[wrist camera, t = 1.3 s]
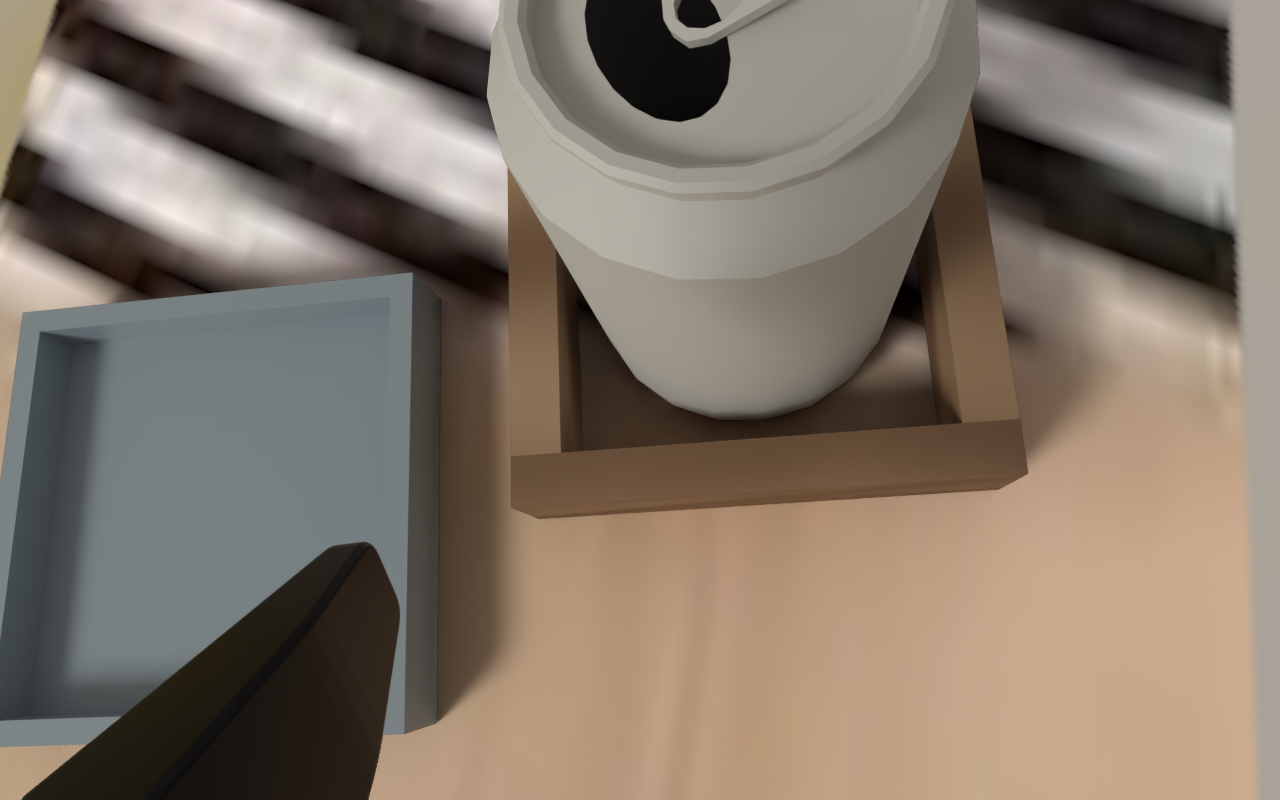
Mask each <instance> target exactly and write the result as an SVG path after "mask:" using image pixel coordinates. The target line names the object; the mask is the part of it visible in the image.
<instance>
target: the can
mask: <svg viewBox="0 0 1280 800" xmlns="http://www.w3.org/2000/svg"><path fill="white" fill-rule="evenodd" d="M979 74H980V62H979V45H978V27H977V9H976V1H975V0H500V10H499V19H498V21H497V23H496V25H495V28H494V30H493V36H492V47H491V57H490V68H489V79H488V90H487V99H488V102H489V106H490V110H491V114H492V118H493V121H494V125H495V129H496V133H497V137H498V140H499V144H500V148H501V152H502V155H503V159H504V161H505V163H506V165H507V166H508V168H509V170H510V172H511V173H512V175H513V177H514V178H515V180H516V182H517V183H518V185H519V187H520V188H521V190H522V192H523V194H524V195H525V197H526V199H527V200H528V202H529V204H530V205H531V207H532V209H533V211H534V212H535V214H536V216H537V217H538V219H539V221H540V222H541V224H542V226H543V227H544V229H545V231H546V233H547V234H548V236H549V238H550V239H551V241H552V243H553V244H554V246H555V248H556V250H557V251H558V253H559V255H560V256H561V258H562V260H563V261H564V263H565V265H566V266H567V268H568V270H569V272H570V273H571V275H572V277H573V278H574V280H575V282H576V283H577V285H578V287H579V289H580V290H581V292H582V294H583V295H584V297H585V299H586V300H587V302H588V304H589V305H590V307H591V309H592V311H593V312H594V314H595V316H596V317H597V319H598V321H599V322H600V324H601V326H602V328H603V329H604V331H605V333H606V334H607V336H608V338H609V339H610V341H611V343H612V344H613V346H614V347H615V349H616V350H617V351H618V353H619V354H620V356H621V357H622V359H623V360H624V361H625V363H626V364H627V366H628V367H629V369H630V370H631V371H632V373H633V374H634V376H635V377H636V378H637V379H638V380H639V381H641V382H642V383H643V384H645V385H646V386H647V387H649V388H650V389H652V390H653V391H654V392H656V393H657V394H658V395H660V396H661V397H662V398H664V399H665V400H666V401H668V402H669V403H671V404H672V405H674V406H677V407H680V408H683V409H686V410H689V411H692V412H695V413H698V414H701V415H705V416H708V417H711V418H714V419H717V420H767V419H770V418H773V417H776V416H780V415H783V414H786V413H790V412H793V411H796V410H799V409H803V408H806V407H809V406H812V405H813V404H815V403H816V402H817V401H819V400H820V399H822V398H823V397H825V396H826V395H828V394H829V393H831V392H832V391H833V390H835V389H836V388H838V387H839V386H841V385H842V384H844V383H845V382H846V381H848V380H849V379H851V377H852V376H853V375H854V373H855V372H856V371H857V369H858V368H859V367H860V365H861V364H862V363H863V361H864V360H865V359H866V357H867V356H868V355H869V354H870V352H871V351H872V350H873V348H874V347H875V346H876V344H877V343H878V342H879V339H880V337H881V334H882V332H883V329H884V326H885V324H886V321H887V319H888V316H889V314H890V311H891V309H892V306H893V304H894V301H895V299H896V296H897V294H898V291H899V289H900V286H901V284H902V281H903V279H904V276H905V274H906V271H907V269H908V266H909V264H910V261H911V258H912V256H913V253H914V251H915V248H916V246H917V243H918V241H919V238H920V236H921V233H922V231H923V228H924V226H925V223H926V221H927V218H928V216H929V213H930V211H931V208H932V206H933V203H934V201H935V198H936V196H937V193H938V190H939V188H940V185H941V183H942V180H943V178H944V175H945V173H946V170H947V168H948V165H949V163H950V160H951V158H952V155H953V153H954V150H955V148H956V145H957V142H958V139H959V136H960V133H961V130H962V127H963V124H964V121H965V118H966V115H967V111H968V108H969V105H970V102H971V99H972V96H973V93H974V90H975V87H976V84H977V80H978V77H979Z"/></svg>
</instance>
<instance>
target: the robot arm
mask: <svg viewBox="0 0 1280 800" xmlns="http://www.w3.org/2000/svg"><path fill="white" fill-rule="evenodd" d="M399 625H400V606H399V602H398V598H397V595H396V593H395V591H394V588H393V586H392V584H391V582H390V579H389V577H388V575H387V572H386V570H385V568H384V565H383V563H382V561H381V558H380V556H379V554H378V552H377V550H376V549H375V547H374V546H373V545H372V544H370V543H368V542H356V543H348V544H340V545H334V546H331V547H329V548H328V549H326V550H325V551H324V552H322V553H321V554H320V555H319V556H318V557H316V558H315V559H314V560H313V561H311V562H310V563H309V564H308V565H307V566H305V567H304V568H303V569H302V570H300V571H299V572H298V573H297V574H295V575H294V576H293V577H292V578H291V579H289V580H288V581H287V582H286V583H284V584H283V585H282V586H281V587H280V588H278V589H277V590H276V591H275V592H273V593H272V594H271V595H270V596H269V597H267V598H266V599H265V600H264V601H262V602H261V603H260V604H259V605H257V606H256V607H255V608H254V609H253V610H251V611H250V612H249V613H248V614H246V615H245V616H244V617H243V618H242V619H240V620H239V621H238V622H237V623H235V624H234V625H233V626H232V627H231V628H229V629H228V630H227V631H226V632H224V633H223V634H222V635H221V636H219V637H218V638H217V639H216V640H215V641H213V642H212V643H211V644H210V645H208V646H207V647H206V648H205V649H204V650H202V651H201V652H200V653H199V654H197V655H196V656H195V657H194V658H193V659H191V660H190V661H189V662H188V663H186V664H185V665H184V666H183V667H181V668H180V669H179V670H178V671H177V672H175V673H174V674H173V675H172V676H170V677H169V678H168V679H167V680H166V681H164V682H163V683H162V684H161V685H159V686H158V687H157V688H156V689H155V690H153V691H152V692H151V693H150V694H148V695H147V696H146V697H145V698H143V699H142V700H141V701H140V702H139V703H137V704H136V705H135V706H134V707H132V708H131V709H130V710H129V711H128V712H126V713H125V714H124V715H123V716H121V717H120V718H119V719H118V720H117V721H115V722H114V723H113V724H112V725H110V726H109V727H108V728H107V729H105V730H104V731H103V732H102V733H101V734H99V735H98V736H97V737H96V738H94V739H93V740H92V741H91V742H90V743H88V744H87V745H86V746H85V747H83V748H82V749H81V750H80V751H79V752H77V753H76V754H75V755H74V756H72V757H71V758H70V759H69V760H67V761H66V762H65V763H64V764H63V765H61V766H60V767H59V768H58V769H56V770H55V771H54V772H53V773H52V774H50V775H49V776H48V777H47V778H45V779H44V780H43V781H42V782H41V783H39V784H38V785H37V786H36V787H34V788H33V789H32V790H31V791H29V792H28V793H27V794H26V795H25V796H24V797H23V798H22V800H368V799H369V795H370V791H371V788H372V784H373V780H374V776H375V772H376V767H377V763H378V759H379V754H380V749H381V743H382V738H383V732H384V725H385V719H386V712H387V705H388V699H389V692H390V685H391V679H392V672H393V665H394V658H395V652H396V645H397V638H398V632H399Z"/></svg>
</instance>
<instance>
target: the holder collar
mask: <svg viewBox="0 0 1280 800" xmlns="http://www.w3.org/2000/svg"><path fill="white" fill-rule="evenodd" d="M508 246H509V343H510V439H511V508H513V509H516V510H518V511H521V512H523V513H526V514H528V515H531V516H533V517H536V518H538V519H545V518H560V517H576V516H592V515H607V514H623V513H639V512H654V511H670V510H685V509H701V508H717V507H732V506H748V505H764V504H779V503H795V502H811V501H826V500H842V499H858V498H873V497H889V496H905V495H920V494H936V493H952V492H967V491H983V490H999V489H1001V488H1002V487H1004V486H1006V485H1008V484H1010V483H1012V482H1014V481H1015V480H1017V479H1019V478H1021V477H1023V476H1025V475H1027V474H1028V468H1027V462H1026V456H1025V449H1024V443H1023V437H1022V430H1021V424H1020V417H1019V411H1018V405H1017V398H1016V392H1015V386H1014V379H1013V373H1012V367H1011V360H1010V354H1009V347H1008V341H1007V335H1006V328H1005V322H1004V316H1003V309H1002V303H1001V297H1000V290H999V284H998V277H997V271H996V265H995V258H994V252H993V246H992V239H991V233H990V226H989V220H988V214H987V207H986V201H985V195H984V188H983V182H982V176H981V169H980V163H979V156H978V150H977V144H976V137H975V131H974V125H973V118H972V112H971V106H970V105H969V108H968V111H967V115H966V118H965V121H964V124H963V127H962V130H961V133H960V136H959V139H958V142H957V145H956V148H955V150H954V153H953V155H952V158H951V160H950V163H949V165H948V168H947V170H946V173H945V175H944V178H943V180H942V183H941V185H940V188H939V190H938V193H937V196H936V198H935V201H934V203H933V206H932V208H931V211H930V213H929V216H928V218H927V221H926V223H925V226H924V228H923V231H922V233H921V236H920V238H919V241H918V243H917V246H916V248H915V254H916V262H917V269H918V277H919V284H920V292H921V299H922V307H923V314H924V322H925V329H926V337H927V344H928V352H929V359H930V367H931V374H932V382H933V389H934V397H935V404H936V412H937V419H938V425H930V426H916V427H903V428H889V429H876V430H862V431H848V432H835V433H821V434H808V435H794V436H781V437H767V438H753V439H740V440H726V441H713V442H699V443H686V444H672V445H658V446H645V447H631V448H618V449H604V450H591V451H582V419H581V387H580V355H579V322H578V290H577V283H576V282H575V280H574V278H573V277H572V275H571V273H570V272H569V270H568V268H567V266H566V265H565V263H564V261H563V260H562V258H561V256H560V255H559V253H558V251H557V250H556V248H555V246H554V244H553V243H552V241H551V239H550V238H549V236H548V234H547V233H546V231H545V229H544V227H543V226H542V224H541V222H540V221H539V219H538V217H537V216H536V214H535V212H534V211H533V209H532V207H531V205H530V204H529V202H528V200H527V199H526V197H525V195H524V194H523V192H522V190H521V188H520V187H519V185H518V183H517V182H516V180H515V178H514V177H513V175H512V173H511V172H510V170H509V168H508Z"/></svg>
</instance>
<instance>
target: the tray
mask: <svg viewBox="0 0 1280 800" xmlns="http://www.w3.org/2000/svg"><path fill="white" fill-rule="evenodd" d="M440 341H441V299H440V298H439V297H438V296H437V295H436V294H435V293H434V292H433V291H432V290H431V289H430V288H429V287H427V286H426V285H425V284H424V283H423V282H422V281H421V280H420V279H419V278H418V277H417V276H416V275H415V274H414V273H413V272H412V273H402V274H393V275H383V276H373V277H364V278H354V279H344V280H334V281H325V282H315V283H305V284H296V285H286V286H276V287H267V288H257V289H247V290H238V291H228V292H218V293H209V294H199V295H189V296H179V297H170V298H160V299H150V300H141V301H131V302H121V303H112V304H102V305H92V306H83V307H73V308H63V309H54V310H44V311H34V312H25V313H23V315H22V322H21V330H20V337H19V344H18V352H17V359H16V367H15V374H14V382H13V389H12V397H11V404H10V412H9V419H8V426H7V434H6V441H5V449H4V456H3V464H2V471H1V479H0V747H14V746H45V745H77V744H88V743H90V742H91V741H92V740H93V739H94V738H96V737H97V736H98V735H99V734H101V733H102V732H103V731H104V730H105V729H107V728H108V727H109V726H110V725H112V724H113V723H114V722H115V721H117V720H118V719H119V718H120V717H121V716H123V715H124V714H125V713H126V712H128V711H129V710H130V709H131V708H132V707H134V706H135V705H136V704H137V703H139V702H140V701H141V700H142V699H143V698H145V697H146V696H147V695H148V694H150V693H151V692H152V691H153V690H155V689H156V688H157V687H158V686H159V685H161V684H162V683H163V682H164V681H166V680H167V679H168V678H169V677H170V676H172V675H173V674H174V673H175V672H177V671H178V670H179V669H180V668H181V667H183V666H184V665H185V664H186V663H188V662H189V661H190V660H191V659H193V658H194V657H195V656H196V655H197V654H199V653H200V652H201V651H202V650H204V649H205V648H206V647H207V646H208V645H210V644H211V643H212V642H213V641H215V640H216V639H217V638H218V637H219V636H221V635H222V634H223V633H224V632H226V631H227V630H228V629H229V628H231V627H232V626H233V625H234V624H235V623H237V622H238V621H239V620H240V619H242V618H243V617H244V616H245V615H246V614H248V613H249V612H250V611H251V610H253V609H254V608H255V607H256V606H257V605H259V604H260V603H261V602H262V601H264V600H265V599H266V598H267V597H269V596H270V595H271V594H272V593H273V592H275V591H276V590H277V589H278V588H280V587H281V586H282V585H283V584H284V583H286V582H287V581H288V580H289V579H291V578H292V577H293V576H294V575H295V574H297V573H298V572H299V571H300V570H302V569H303V568H304V567H305V566H307V565H308V564H309V563H310V562H311V561H313V560H314V559H315V558H316V557H318V556H319V555H320V554H321V553H322V552H324V551H325V550H326V549H328V548H329V547H331V546H334V545H340V544H348V543H356V542H368V543H370V544H372V545H373V546H374V547H375V549H376V550H377V552H378V554H379V556H380V558H381V561H382V563H383V565H384V568H385V570H386V572H387V575H388V577H389V579H390V582H391V584H392V586H393V588H394V591H395V593H396V595H397V598H398V602H399V606H400V625H399V632H398V638H397V645H396V652H395V658H394V665H393V672H392V679H391V685H390V692H389V699H388V705H387V712H386V719H385V725H384V732H383V735H390V734H406V733H409V732H412V731H415V730H418V729H421V728H424V727H427V726H430V725H433V724H436V723H437V642H438V542H439V442H440Z"/></svg>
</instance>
